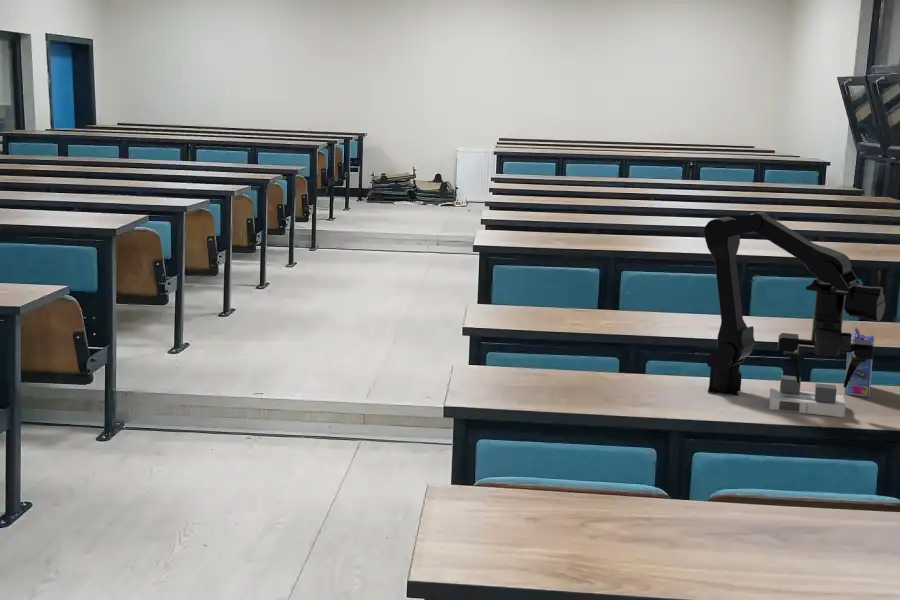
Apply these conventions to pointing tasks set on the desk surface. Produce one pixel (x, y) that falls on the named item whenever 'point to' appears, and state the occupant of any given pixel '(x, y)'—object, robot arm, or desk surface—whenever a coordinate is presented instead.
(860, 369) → the ink cartridge box
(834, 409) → the box
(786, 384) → the switch far
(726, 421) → the desk surface
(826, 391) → the switch near
